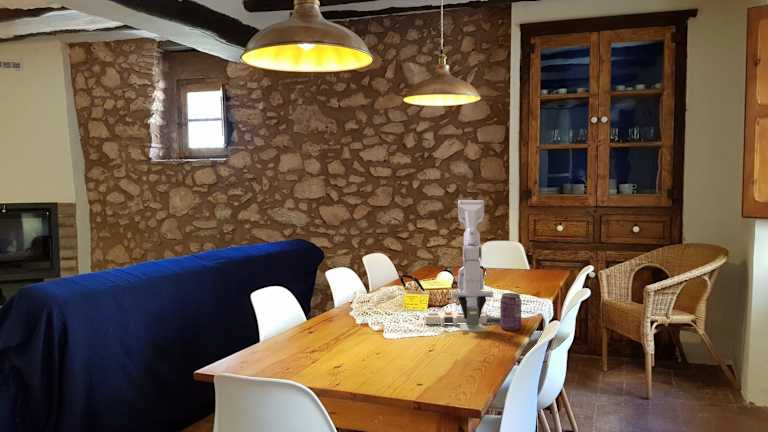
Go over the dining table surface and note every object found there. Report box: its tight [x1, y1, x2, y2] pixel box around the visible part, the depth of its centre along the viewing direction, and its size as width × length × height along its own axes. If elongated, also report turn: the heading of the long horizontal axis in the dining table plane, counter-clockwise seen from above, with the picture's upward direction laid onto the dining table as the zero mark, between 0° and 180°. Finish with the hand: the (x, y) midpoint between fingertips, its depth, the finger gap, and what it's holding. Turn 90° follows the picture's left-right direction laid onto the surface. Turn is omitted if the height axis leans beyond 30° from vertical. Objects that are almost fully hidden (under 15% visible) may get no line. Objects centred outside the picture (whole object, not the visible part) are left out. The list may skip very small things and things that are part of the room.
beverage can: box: [499, 292, 522, 331], centre depth 212 cm, size 7×7×12 cm
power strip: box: [423, 311, 500, 326], centre depth 220 cm, size 8×28×4 cm, turn 93°
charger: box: [465, 306, 479, 326], centre depth 214 cm, size 8×4×6 cm, turn 3°
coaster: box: [458, 324, 486, 333], centre depth 213 cm, size 8×8×1 cm
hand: (471, 317), depth 212 cm, fingers closed on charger, 4 cm apart
